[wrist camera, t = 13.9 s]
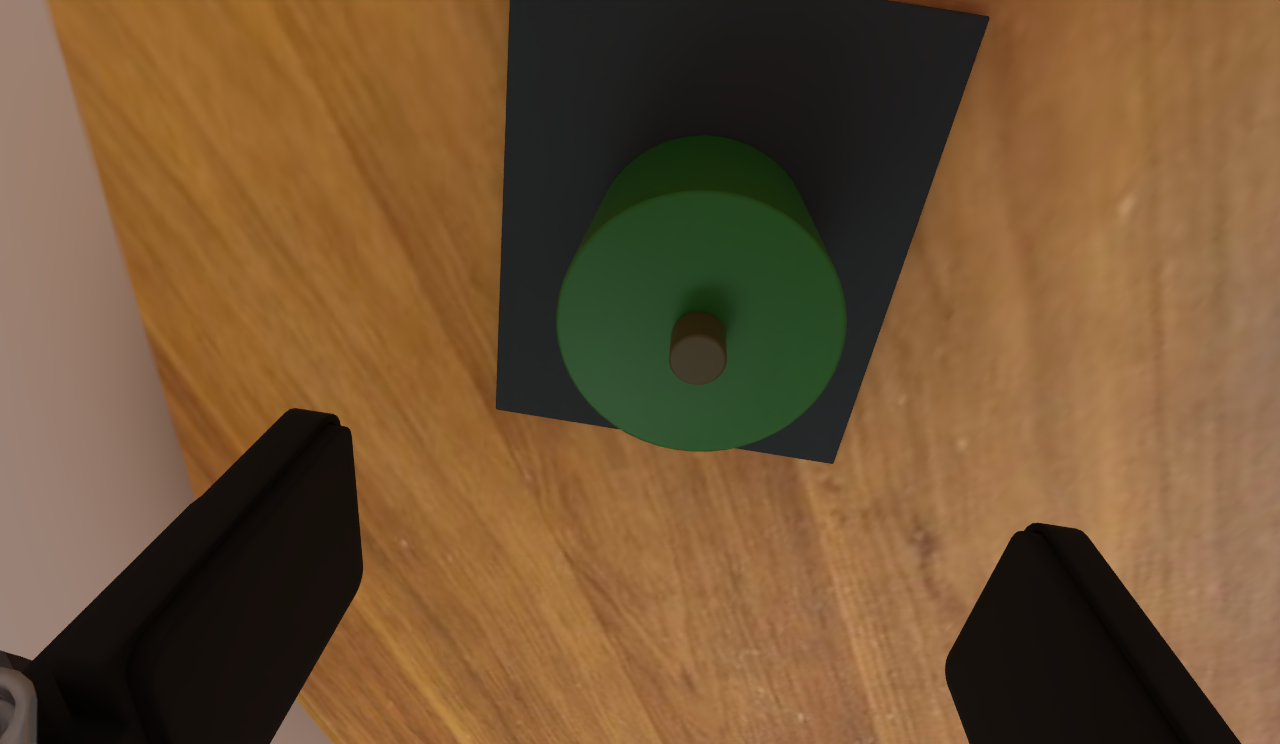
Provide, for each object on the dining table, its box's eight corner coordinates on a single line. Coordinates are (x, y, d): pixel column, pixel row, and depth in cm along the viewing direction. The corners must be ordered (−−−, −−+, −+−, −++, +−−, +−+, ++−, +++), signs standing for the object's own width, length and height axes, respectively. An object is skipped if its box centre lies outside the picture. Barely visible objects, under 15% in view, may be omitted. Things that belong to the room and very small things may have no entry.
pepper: (584, 325, 22) (535, 459, 15) (606, 117, 19) (556, 181, 12) (780, 356, 22) (810, 504, 15) (836, 154, 18) (902, 237, 12)
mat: (498, 403, 24) (495, 409, 24) (515, -58, 17) (511, -59, 17) (831, 457, 24) (833, 464, 24) (985, 16, 17) (990, 16, 17)
